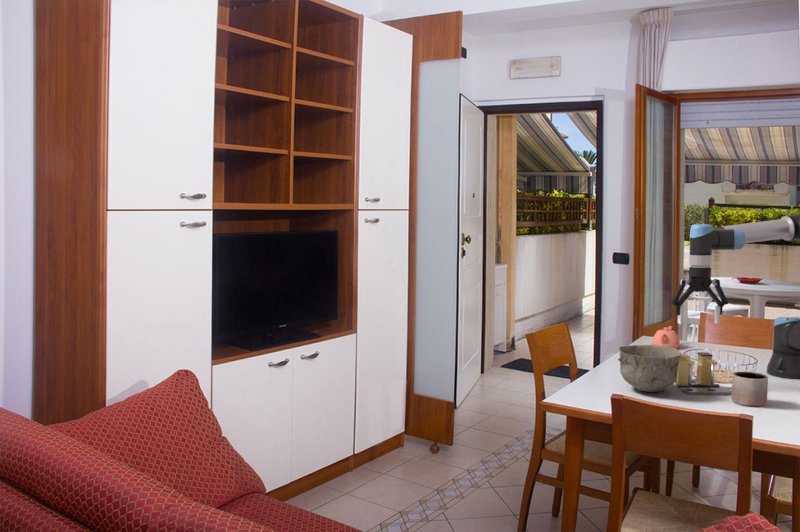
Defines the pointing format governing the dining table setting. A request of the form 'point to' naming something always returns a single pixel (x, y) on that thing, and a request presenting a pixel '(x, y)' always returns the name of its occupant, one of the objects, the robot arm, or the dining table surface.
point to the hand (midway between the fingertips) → (698, 323)
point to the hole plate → (707, 391)
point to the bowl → (649, 366)
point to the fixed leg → (684, 371)
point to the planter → (749, 389)
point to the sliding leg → (705, 369)
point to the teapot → (666, 338)
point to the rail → (699, 386)
